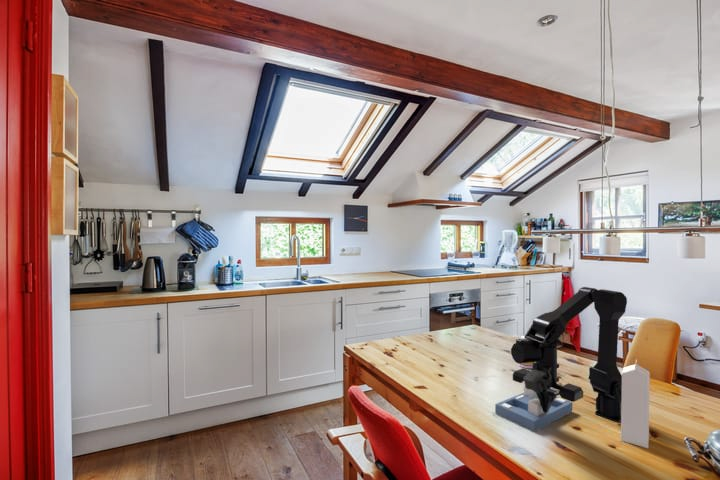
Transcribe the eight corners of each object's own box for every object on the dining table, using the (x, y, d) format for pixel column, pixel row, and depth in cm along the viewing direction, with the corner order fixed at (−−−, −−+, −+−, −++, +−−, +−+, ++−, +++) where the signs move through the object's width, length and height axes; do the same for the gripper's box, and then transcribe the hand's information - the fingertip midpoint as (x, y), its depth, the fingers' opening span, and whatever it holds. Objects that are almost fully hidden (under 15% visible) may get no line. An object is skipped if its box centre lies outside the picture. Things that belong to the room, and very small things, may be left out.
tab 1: (539, 400, 123) (539, 386, 123) (532, 403, 121) (533, 388, 121) (531, 397, 125) (531, 383, 125) (524, 400, 123) (524, 385, 123)
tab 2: (544, 417, 111) (544, 401, 111) (537, 421, 109) (537, 405, 109) (535, 413, 114) (535, 398, 114) (527, 417, 111) (528, 401, 111)
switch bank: (572, 411, 118) (572, 401, 118) (534, 431, 106) (534, 420, 106) (534, 396, 129) (534, 387, 129) (495, 413, 116) (495, 403, 116)
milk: (648, 439, 102) (650, 361, 102) (648, 449, 97) (650, 366, 97) (622, 431, 106) (623, 356, 106) (620, 440, 101) (622, 361, 101)
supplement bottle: (533, 370, 154) (533, 340, 154) (516, 366, 158) (516, 337, 158) (536, 365, 160) (536, 336, 160) (520, 362, 164) (520, 334, 164)
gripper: (502, 356, 112) (501, 407, 112) (564, 376, 96) (563, 434, 97) (522, 350, 118) (522, 398, 118) (584, 367, 103) (583, 422, 103)
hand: (545, 412), depth 109 cm, fingers closed
